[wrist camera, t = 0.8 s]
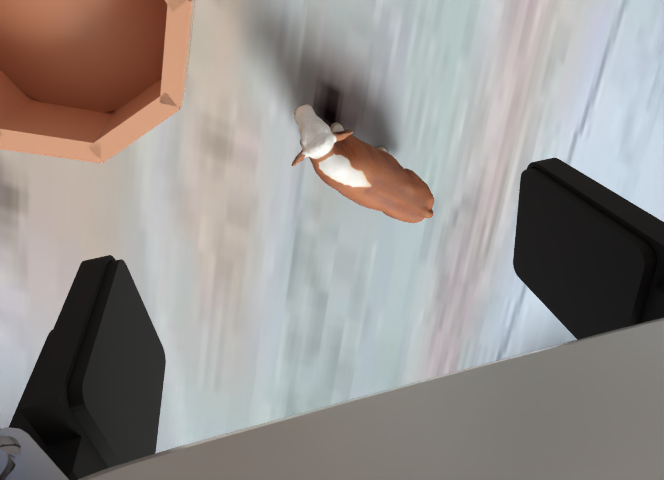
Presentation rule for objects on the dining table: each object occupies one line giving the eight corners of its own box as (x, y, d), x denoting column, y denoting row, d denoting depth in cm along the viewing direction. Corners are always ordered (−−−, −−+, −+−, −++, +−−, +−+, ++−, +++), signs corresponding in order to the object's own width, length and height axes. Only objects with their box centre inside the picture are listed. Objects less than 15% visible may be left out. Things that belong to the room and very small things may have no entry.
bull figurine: (294, 74, 35) (314, 103, 29) (418, 168, 42) (459, 211, 35) (260, 122, 37) (272, 161, 30) (385, 207, 43) (418, 255, 36)
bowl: (75, -187, 26) (35, -227, 20) (234, 48, 34) (239, 68, 28) (-119, -32, 28) (-208, -28, 22) (75, 159, 35) (48, 200, 29)
